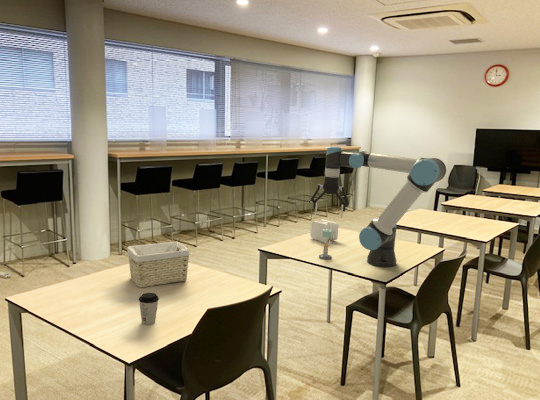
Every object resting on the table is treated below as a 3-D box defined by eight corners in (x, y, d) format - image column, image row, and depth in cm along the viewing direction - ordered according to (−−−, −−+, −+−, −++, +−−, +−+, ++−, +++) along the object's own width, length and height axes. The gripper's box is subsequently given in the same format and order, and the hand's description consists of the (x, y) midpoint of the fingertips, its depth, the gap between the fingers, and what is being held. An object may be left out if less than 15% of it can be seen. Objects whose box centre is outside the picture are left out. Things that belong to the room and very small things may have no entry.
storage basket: (135, 289, 200) (135, 255, 197) (125, 277, 213) (125, 245, 211) (190, 282, 212) (191, 249, 209) (177, 271, 226) (178, 240, 223)
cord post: (331, 256, 262) (333, 228, 259) (331, 260, 255) (333, 231, 252) (319, 255, 263) (321, 227, 260) (318, 259, 256) (320, 230, 253)
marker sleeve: (330, 235, 259) (331, 229, 258) (330, 237, 254) (331, 231, 254) (322, 234, 259) (323, 229, 259) (322, 236, 255) (322, 231, 254)
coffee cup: (142, 328, 165) (142, 300, 163) (135, 320, 170) (135, 293, 169) (161, 323, 169) (162, 296, 167) (154, 316, 175) (154, 290, 173)
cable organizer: (308, 238, 299) (309, 219, 297) (320, 236, 306) (321, 218, 304) (326, 243, 288) (327, 224, 286) (338, 241, 295) (339, 223, 293)
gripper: (355, 177, 253) (352, 216, 257) (308, 173, 257) (305, 212, 260) (356, 179, 246) (352, 219, 250) (307, 175, 249) (304, 215, 253)
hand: (328, 216), depth 255 cm, fingers open, 13 cm apart
